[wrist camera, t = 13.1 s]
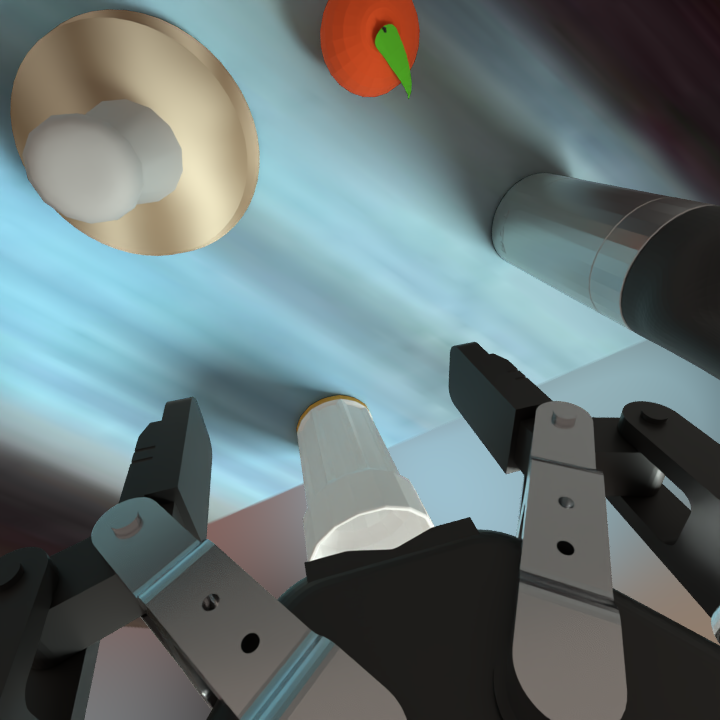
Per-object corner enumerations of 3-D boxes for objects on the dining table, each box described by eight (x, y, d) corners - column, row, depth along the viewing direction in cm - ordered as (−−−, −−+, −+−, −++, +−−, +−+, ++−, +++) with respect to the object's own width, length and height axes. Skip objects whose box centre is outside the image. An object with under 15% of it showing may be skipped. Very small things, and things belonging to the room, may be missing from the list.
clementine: (423, 70, 34) (463, 61, 28) (358, 130, 35) (383, 133, 29) (366, -40, 30) (398, -78, 24) (293, 32, 31) (307, 13, 25)
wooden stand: (233, 7, 29) (233, -11, 25) (275, 236, 38) (279, 252, 34) (-24, 18, 27) (-73, 0, 22) (82, 263, 35) (61, 284, 31)
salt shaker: (202, 180, 30) (182, 218, 19) (125, 210, 29) (60, 266, 19) (155, 85, 27) (99, 67, 16) (69, 118, 26) (-50, 122, 15)
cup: (272, 407, 47) (289, 540, 32) (368, 373, 48) (426, 487, 33) (304, 474, 53) (329, 611, 38) (388, 443, 54) (444, 565, 39)
